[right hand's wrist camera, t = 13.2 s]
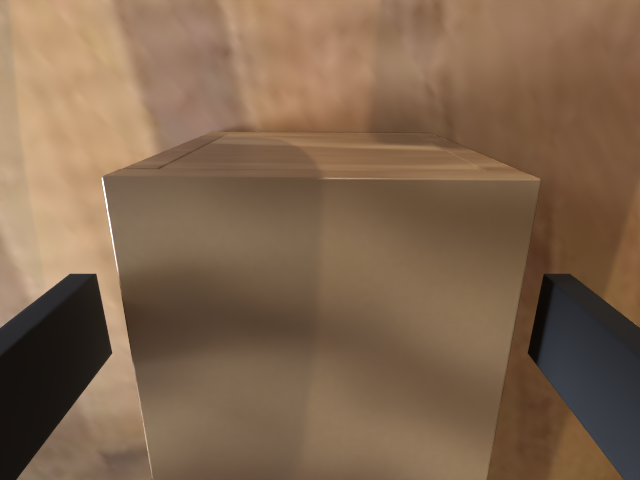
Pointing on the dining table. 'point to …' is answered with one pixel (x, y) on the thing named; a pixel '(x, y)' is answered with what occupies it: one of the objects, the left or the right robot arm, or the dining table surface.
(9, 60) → the dining table surface
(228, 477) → the cabinet
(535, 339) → the right robot arm
